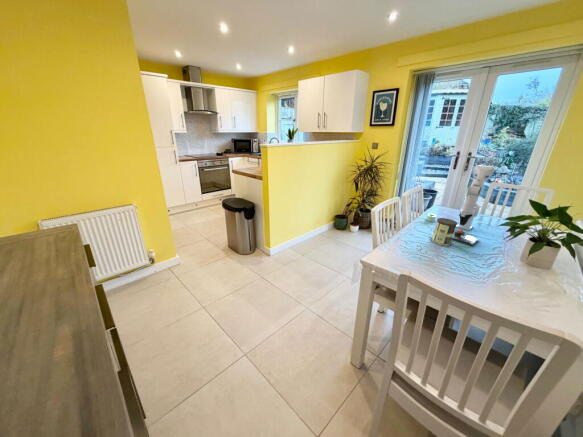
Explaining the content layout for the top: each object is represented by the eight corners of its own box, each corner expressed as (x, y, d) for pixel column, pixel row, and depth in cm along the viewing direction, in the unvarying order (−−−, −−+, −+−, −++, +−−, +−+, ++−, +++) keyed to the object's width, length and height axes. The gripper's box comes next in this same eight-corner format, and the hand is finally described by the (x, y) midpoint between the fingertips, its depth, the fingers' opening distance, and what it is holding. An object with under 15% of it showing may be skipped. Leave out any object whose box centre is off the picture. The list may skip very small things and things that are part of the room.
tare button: (458, 231, 151) (459, 229, 150) (462, 232, 149) (463, 230, 148) (457, 232, 149) (457, 229, 149) (461, 233, 148) (462, 231, 147)
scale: (455, 233, 154) (456, 229, 152) (478, 240, 144) (479, 236, 143) (448, 238, 146) (449, 234, 145) (471, 246, 137) (473, 242, 136)
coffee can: (447, 239, 145) (454, 219, 139) (452, 247, 136) (459, 225, 130) (429, 236, 148) (435, 216, 143) (433, 243, 139) (439, 222, 134)
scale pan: (462, 234, 146) (462, 233, 146) (476, 238, 141) (477, 237, 140) (458, 237, 142) (458, 236, 142) (473, 241, 136) (473, 241, 136)
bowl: (428, 218, 178) (429, 213, 176) (435, 220, 174) (437, 215, 172) (425, 220, 175) (426, 214, 173) (432, 222, 171) (434, 217, 169)
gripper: (465, 201, 149) (459, 220, 154) (458, 205, 140) (451, 225, 146) (478, 204, 144) (471, 223, 149) (471, 208, 135) (464, 228, 140)
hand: (462, 224), depth 147 cm, fingers closed
